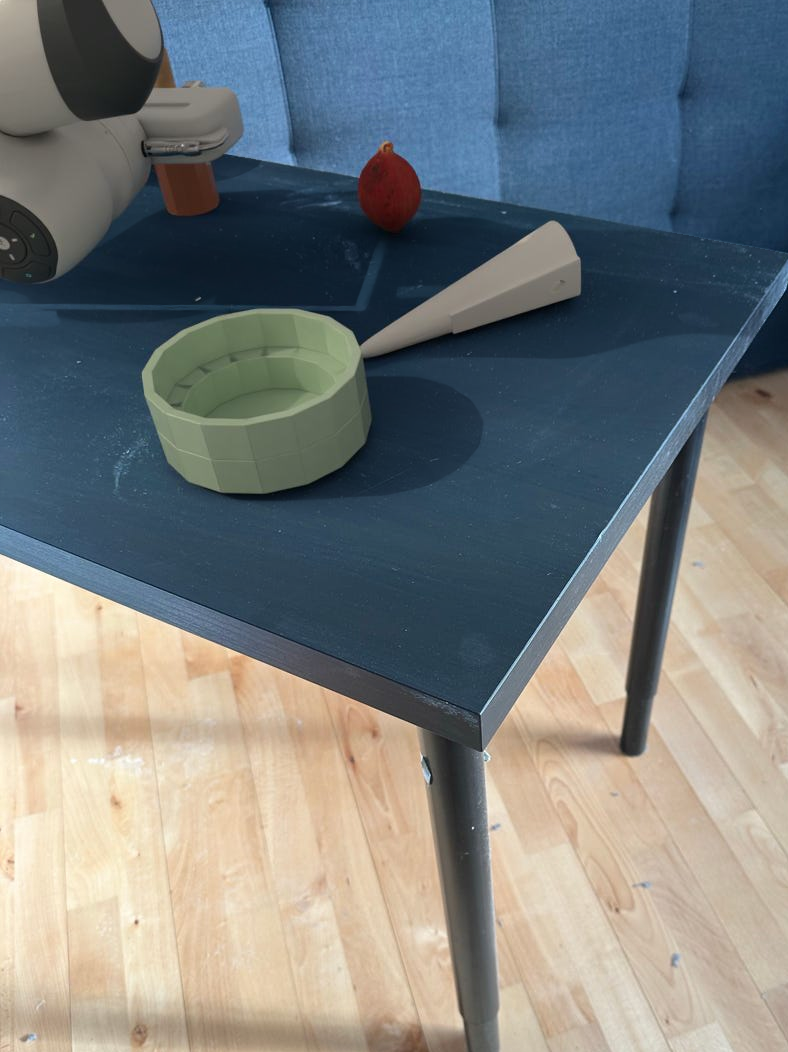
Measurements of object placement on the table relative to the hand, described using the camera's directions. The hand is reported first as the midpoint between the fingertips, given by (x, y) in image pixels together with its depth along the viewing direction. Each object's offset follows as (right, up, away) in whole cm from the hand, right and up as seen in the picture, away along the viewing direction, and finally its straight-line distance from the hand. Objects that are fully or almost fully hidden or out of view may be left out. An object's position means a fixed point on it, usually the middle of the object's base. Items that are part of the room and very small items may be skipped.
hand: (146, 91), depth 82 cm
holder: (+1, -5, +11) cm, 13 cm away
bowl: (+15, -34, -16) cm, 40 cm away
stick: (+1, -5, +11) cm, 12 cm away
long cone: (+28, -22, -5) cm, 36 cm away
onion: (+21, -10, +6) cm, 24 cm away
